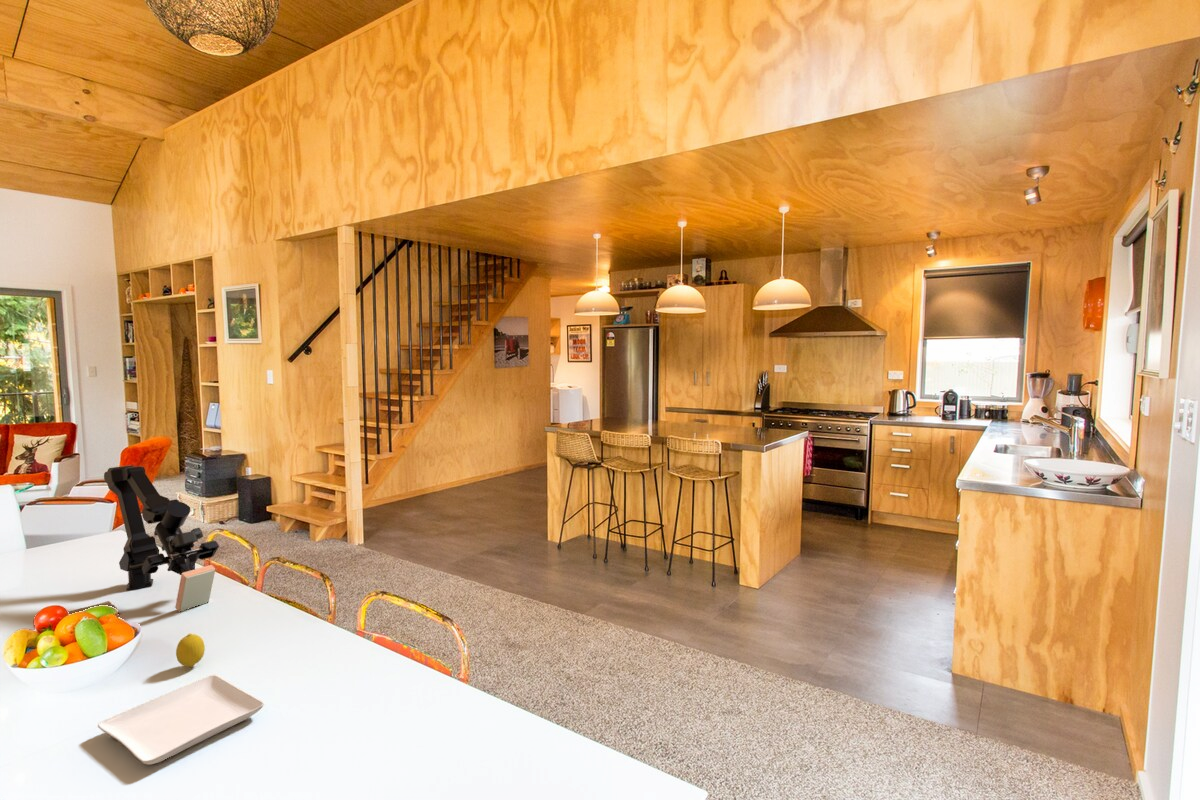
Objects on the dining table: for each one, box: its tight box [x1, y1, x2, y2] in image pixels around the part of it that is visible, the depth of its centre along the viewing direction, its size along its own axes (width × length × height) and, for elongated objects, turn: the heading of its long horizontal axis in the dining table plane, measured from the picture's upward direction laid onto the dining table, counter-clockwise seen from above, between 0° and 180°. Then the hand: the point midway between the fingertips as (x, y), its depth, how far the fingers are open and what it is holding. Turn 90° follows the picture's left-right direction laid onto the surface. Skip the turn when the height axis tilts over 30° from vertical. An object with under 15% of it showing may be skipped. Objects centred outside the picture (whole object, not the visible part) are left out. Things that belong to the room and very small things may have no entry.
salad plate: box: [97, 674, 265, 765], centre depth 119 cm, size 21×21×3 cm
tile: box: [174, 564, 216, 612], centre depth 175 cm, size 2×8×12 cm, turn 150°
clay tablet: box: [67, 600, 118, 614], centre depth 171 cm, size 14×10×3 cm
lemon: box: [175, 633, 206, 668], centre depth 142 cm, size 6×6×8 cm
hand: (193, 580), depth 176 cm, fingers closed
